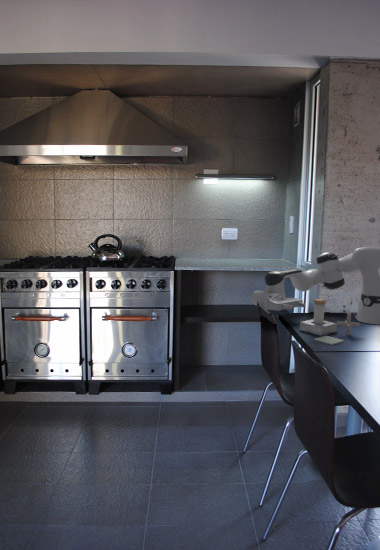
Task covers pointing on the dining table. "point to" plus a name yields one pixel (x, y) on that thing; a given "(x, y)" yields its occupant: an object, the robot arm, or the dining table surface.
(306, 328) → the housing block
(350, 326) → the pipe connector
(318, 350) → the dining table surface
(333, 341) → the rubber mat
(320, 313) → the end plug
